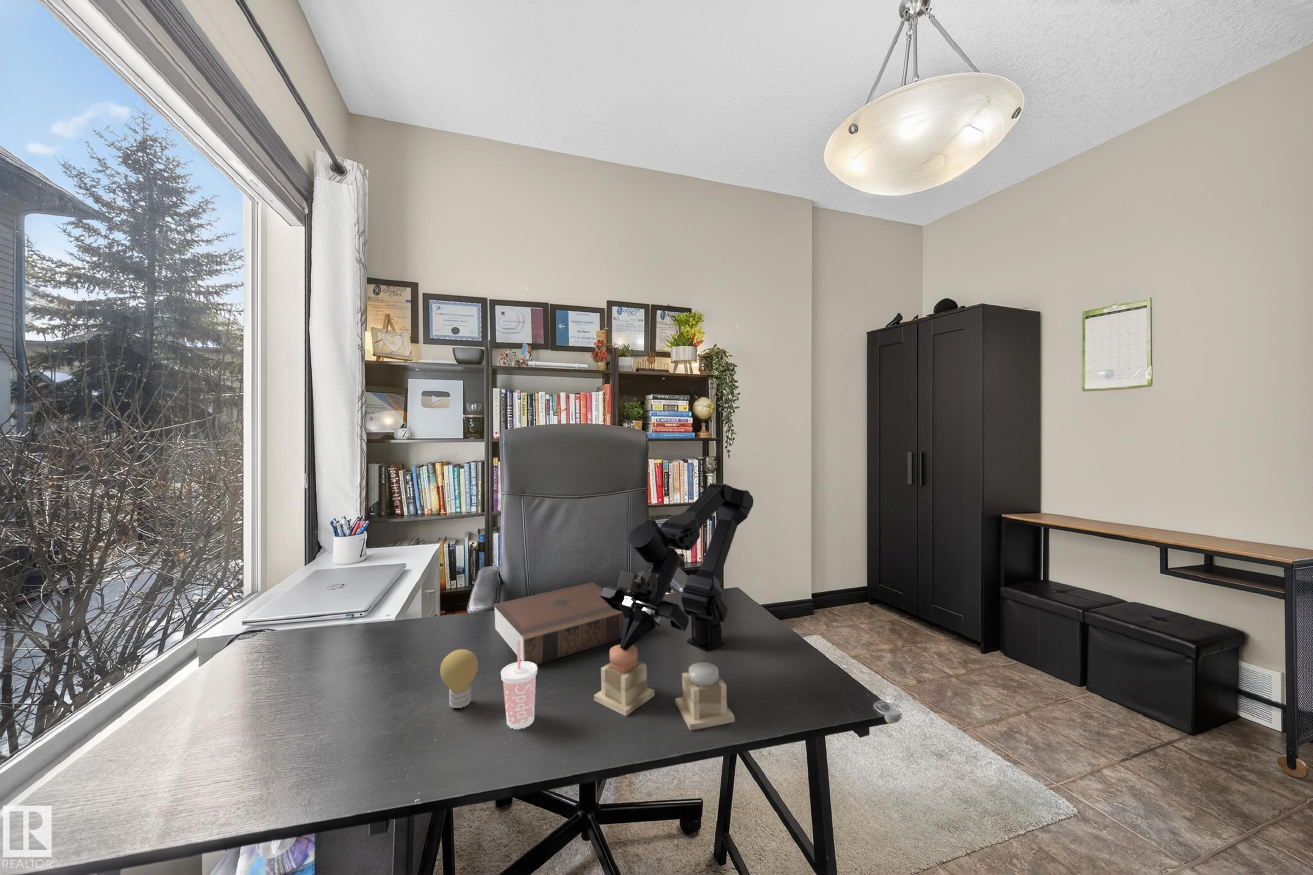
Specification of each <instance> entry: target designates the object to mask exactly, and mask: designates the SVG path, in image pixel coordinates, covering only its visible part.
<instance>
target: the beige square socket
mask: <svg viewBox="0 0 1313 875" xmlns="http://www.w3.org/2000/svg"><path fill="white" fill-rule="evenodd" d="M681 689H682V690H681V691H682V692H681V693H682V696H681V697H676V698H675V706H676V707H677V709H678V710H679V712H680V715H681V716H682V718H683V720H684V721H685V723H686V724H685V725H686V726H687V727H688V729H689V731H696V730H701V729H705V728H711V727H716V726H721V725H726V724H730V723H735V722H736V721H735V718H736V717H735V715H734V713H733V712H732V711H731V709H730V708H729V706H728V705H727V700H728V699H727V684H726V683H725V681H724V680H723V679H722V678H721V676H720V675H719V680H718V682H717V683H716V684H715V685H713V686H709V687H700V686H699V687H697V686H696V685H694V684H692V683H691V682H690V681H689V671H688V672H687V671H686V672H682V673H681Z"/></svg>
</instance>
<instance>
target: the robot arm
mask: <svg viewBox="0 0 1313 875" xmlns="http://www.w3.org/2000/svg"><path fill="white" fill-rule="evenodd" d="M753 506H754V498H753V495H752V494H751V493H750V491H749V490H745V489H738V488H735V487H733V486H731V485H729V484H727V483H717V482H716V483H715V482H713V483H710V484H708V486H707V489H706V490H705V491H704V492H702V494H701V495H699V497H698V498H697V499H696V500H695V501H694V502H692V504H691V505H690V506H689V507H688V508H687V509H686V510H685V511H683V512H682V513H678V514H676V515H672V516H671V517H669V518H668V519H666V520H664V521H663V523H662V524H661V525H660V526H659V524H658V522H657V521H656V520H655V519H650V518H647V519H646V520H645V521H644V523H641V524H639V525H637V526H636V527H635V528H634V529H632V530H631V531H630V533H629V535H628V543H629V545H630V546H631V547H632V549H633V550H634V551H635V553H637V554H638V556H640V558H641V559H642V560H643V562H645V563H648V565H646V568H645V570H642V569H640V571H638V573H637V574H636V573H633V572H629V571H624V570H620V572H619V576H618V580H617V582H616V587H615V586H612V585H607V586H604V587H603V591H602V593H601V594H600V597H601V598H602V599H603V600H604V601H605V602H606V603H607V604H608V605H610V606H611V607H612V608H613V609H615V610H617V611H621V612H623V616H624V620H623V630H622V637H621V639H620V644H619V645H620V648H621V649H622V650H625V651H626V650H627V649H628V648H630V647H631V646H632V645H635V644H636V643H637V642H638V641H639V640H640V639H641V638H643V637H644V636H646V634H648V633H650V632H651V631H653V630H654V629H656V628H657V629H660V628H661V627H660V626H661V624H660V621H661V618H663V619H665V620H669V622H670V625H671V628H673V629H676V630H678V631H681V632H686V630H687V628H688V625H689V624H690V621H689V620H690V618H691V637H688V638H687V639H686V642H687V643H689V644H691V645H692V646H694V647H697V648H699V649H701V650H703V651H708V652H709V651H710V650H711V651H712V649H714V648H716V647H718V646H720V645H724V644H725V643H726V639H723V638H722V625H721V623H724V622H725V619H726V618H727V614H728V607H727V605H726V604H725V603H724V601H723V600H722V594H723V593H722V589H721V588H722V586H721V583H720V579H721V575H722V573H723V569H724V566H725V564H726V561H727V558H728V556H729V552H730V550H731V546H732V543H733V541H734V540H733V539H734V537H735V534H736V531H737V528H738V526H739V525H740V524H741V523H743V522H744V521H745V520H746V519H747V518H748V517H749V514H750V512H751V510H752V508H753ZM716 511H717V514H718V518H717V519H718V520H717V522H716V524H715V527H714V529H713V531H712V532H713V533H712V536H711V537H710V540H709V544H708V546H707V549H706V552H705V555H704V557H703V560H702V563H701V566H700V568H699V570H698V572H696V573H695V574H690V573H689V574H688V576H687V578H686V582H685V585H684V587H683V588H682V593H681V598H680V599H681V600H680V601H681V604H682V607H681V606H680V605H679V604H678V603H674V602H671V601H668V600H664V598H665V596H666V594H671V592H672V590H673V588H672V586H670V585H671V583H672V581H673V578H674V576H675V575H676V572H677V570H678V568H682V569H684V568H685V567H686V563H685V560H684V555H683V554H681V553H678V552H677V550H682V551H690V550H692V549H693V548H694V547H695V545H696V544H697V542H698V540H699V539H700V537H701V529H702V527H703V526H704V525H705V523H706V522H707V521H708V520H709V519H710V518H711V517H712V516H713V515H714V514H715V512H716ZM675 549H677V550H675ZM623 589H626V592H627V593H626V592H624V590H623ZM628 594H629V595H630V596H629V595H628ZM689 617H690V618H689Z"/></svg>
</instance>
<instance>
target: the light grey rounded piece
mask: <svg viewBox="0 0 1313 875" xmlns="http://www.w3.org/2000/svg"><path fill="white" fill-rule="evenodd" d="M688 672H689V681H690V682H691V683H692V684H694V685H696V686H697V687H699V686H700V687H709V686H713V685H715V684H716V683H717V682H718V680H719V676H720V675H719V674H720V673H719V668H718V667H717V666H716V665H715V664H713V663H709V662H696V663H693V664H691V665H690V666H688Z"/></svg>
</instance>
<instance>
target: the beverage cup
mask: <svg viewBox="0 0 1313 875" xmlns="http://www.w3.org/2000/svg"><path fill="white" fill-rule="evenodd" d="M516 658H517V661H516V662H515V661H514V662H512V663H509V664H507V665H505V667H502V669H501V670H500V678H501V681H502V683H503V698H504V707H505V716H506V718H505V719H506V726H507V725H508V726H509V727H510V728H509V727H508V726H507V727H508V728H509V729H512V728H513V729H512V730H521V728H522V729H526V728H527V727H530V725H532V724H533V723H534V720H535V708H536V706H535V705H536V679H537V678H536V676H537V674H538V664H534V663H533V662H528V661H522V660H521V659H520V641H517V654H516Z"/></svg>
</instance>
